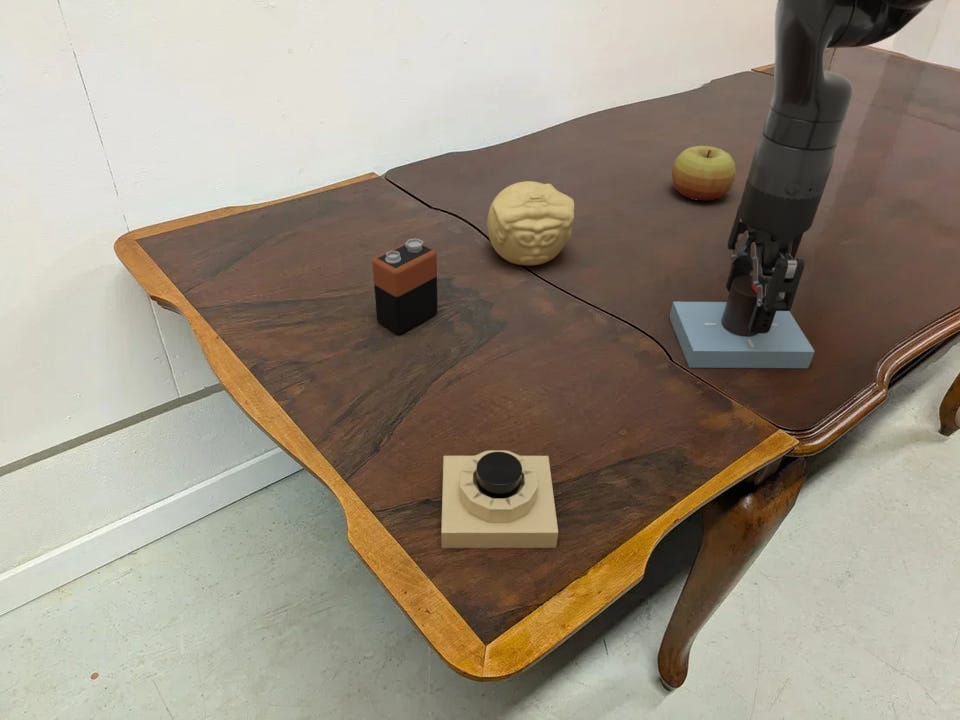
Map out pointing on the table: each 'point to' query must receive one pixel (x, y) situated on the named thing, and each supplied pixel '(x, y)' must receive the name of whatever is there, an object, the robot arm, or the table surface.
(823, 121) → the robot arm
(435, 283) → the battery
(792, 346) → the panel
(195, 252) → the table surface
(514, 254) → the sculpture
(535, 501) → the button box
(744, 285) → the knob
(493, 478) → the button
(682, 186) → the apple
